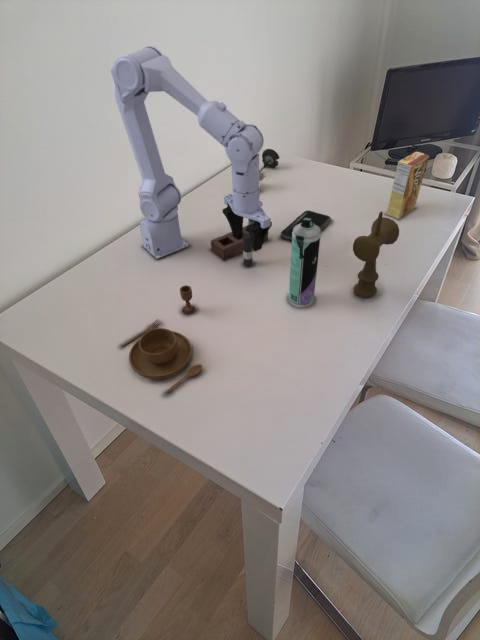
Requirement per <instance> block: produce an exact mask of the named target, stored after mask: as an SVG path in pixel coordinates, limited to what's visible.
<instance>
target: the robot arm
mask: <svg viewBox="0 0 480 640" xmlns="http://www.w3.org/2000/svg"><path fill="white" fill-rule="evenodd" d="M110 73H111V77H112V80H113V83H114V97H115V103H116V104H117V107H118V110H119V114H120V116H121V120H122V123H123V126H124V129H125V132H126V135H127V138H128V141H129V144H130V146H131V150H132V152H133V156H134V158H135V161H136V165H137V168H138V171H139V173H140V177H141V183H140V186H139V189H138V193H137V194H138V198H139V209H140V211H141V214H142V215H143V216H144V218H145V219H143V220H141V221H140V222H139V229H140V234H141V237H142V242H143V244H142V246H143V248H144V249H146V250H147V251H148V253H150V254H151V255H152V256H153V257H154V258H155V259H161V258H163V257H166V256H168V255H171V254H173V253H175V252H179V251H180V250H183V249H186V248H187V247H189V243H187V241H185V240H184V239H183V238H182V233H181V227H180V220H179V214H178V213H179V212H178V210H179V204H180V203H181V201H182V193H181V191H180V189H179V188H178V187H177V185H176V183H175V180H174V177H173V176H171V175H169V174H167V173H166V172H165V169H164V165H163V161H162V158H161V155H160V151H159V148H158V145H157V141H156V137H155V135H154V132H153V131H154V130H153V128H152V125H151V122H150V118H149V115H148V111H147V108H146V104H145V101H146V99H147V97H148V95H149V94H150V93H157V92H158V93H159V92H164V93H165V94H167V95H168V96H169V97H171V98H172V99H174V100H175V101H177V102H178V103H179V104H180V105H182V106H183V107H185V108H186V109H187V110H189V111H190V112H191V113H192V114H194V115H195V116H196V117H197V122H198V125H199V127H200V128H201V129H202V130H204V132H206V133H207V134H209V135H210V136H211V137H212V138H213V139H214V140H215V141H217V142H218V143H219V144H220V145H221V146H223V147H224V151H225V154H226V156H227V158H228V159H229V162H230V165H231V178H232V179H231V180H232V181H231V183H232V184H231V185H232V193H229V194H227V195H224V196H223V203H224V205H226V207H224V208H223V209H222V214H223V215H224V216H225V219H226V220H227V222H228V224H229V227H230V230H231V231H230V232H232V234H233V236H234V237H237V236H240V235H242V231H243V227H244V218H245V219H252V220H254V223H252V224H250V225H249V224H247V225H248V226H247V225H246V226H247V229H248V231H249V233H250V236H251V243H252V252H258V251H259V250H261V249H262V248H263V244H264V243H263V241H264V238H265V236H266V234H267V232H268V233H269V230H270V229H271V228H272V226H273V222H272V220H271V219H272V218H271V216H269V215H268V214H267V213H266V212H265V210H264V208H262V206H263V204H264V203H263V201H261V200H260V191H259V186H260V181H259V171H260V153H259V152H261V150H262V149H263V147H264V144H265V143H264V136H263V133H262V132H261V130H260V129H259V128H258V127H257V125H255V124H252V123H245V122H244V121H243V120H240V119H239V118H238V117H237V116H235V114H233V113H232V112H231V111H230V110H228V109H227V107H228V105H227V104H225V103H224V102H223V101H220V102H219V101H218V100H207V98H205V97H204V95H202V94H201V93H200V92H199V91H198V90H197V88H195V87H194V86H193V85H192V83H190V82H189V81H188V80H187V79H186V78H185V77H184V76H183V75H182V74H181V73H180V72H179V71H178V70H176V68H175V67H174V66H173V64H172V61H171V60H170V58H169V57H168V56H167V55H166V54H163V53H162V52H161V50H159V49H158V48H157V47H156V46H152V45H147V46H145V47H143V48H142V49H139V50H136V51H133V52H131V53H128V54H123V55H120V56H117V59H116V60H115V61H114V64H113V65H112V67H111V69H110Z"/></svg>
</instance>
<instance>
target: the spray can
mask: <svg viewBox="0 0 480 640" xmlns="http://www.w3.org/2000/svg"><path fill="white" fill-rule="evenodd" d="M321 231H322V230H320V228H319V227H318V226H317V225H315V224H314V223H313V222H312V218H311V217H306V218H304V219H303V221H302V222H301V223H300V224H298V225H296V226H295V227H294V228H293V232H292V241H291V251H290V265H289V266H290V267H289V283H288V302H289V304H290V305H292V306H293V307H296V308H299V309H301V308H308V307H310V306H311V305H312V304H313V303H314V299H315V291H316V282H317V273H318V272H317V271H318V264H319V255H320V244H321V236H322V234H321Z"/></svg>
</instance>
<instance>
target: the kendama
mask: <svg viewBox="0 0 480 640" xmlns="http://www.w3.org/2000/svg"><path fill="white" fill-rule="evenodd" d="M370 228H371V229H370V233H369V234H368V235H359V236H357V237H356V238H355V239H354V241H353V243H352V253H353V254H354V256H355V257H356V258H357V259H358V260H360V261H362V262H364V266H363V268H362V270H361V269H360V271H359V272H358V273H357V279H358V281H357V283H355V285H354V287H353V288H352V289H353V293H354V294H355V295H356V296H358V297H359V298H363V299H370V298H371V299H372V298H373V297H375V296H376V295H377V293H378V288H377V286H376V282H377V281H378V279H379V277H380V276H379V272H377V259H378V257H379V255H380V251H381V247H382V246H383V245H387V246H388V245H393V244H395V243H396V242H397V241H398V239H399V236H400V227H399V225H398V223H396V222H395V220H393V219H391V218H389V217H384V216H383V211H379V213H378V216H377V218H376V219H375V220H374V221H373V222H372V224H371V227H370Z"/></svg>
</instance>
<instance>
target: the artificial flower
mask: <svg viewBox="0 0 480 640" xmlns="http://www.w3.org/2000/svg"><path fill="white" fill-rule="evenodd" d="M261 158H262V164H263V166H262V167H261V169H259V182H261V181H263V180H264V178H266V177H267V171H266V170H264V169H267V168H273V169H274V168H277V167H278V166H279V160H280V155H279V154H278V152H276V150H275V149H272V148H266V149H265V150H263V151H262V153H261ZM260 191H261V186H260V185H259V192H260Z"/></svg>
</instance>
